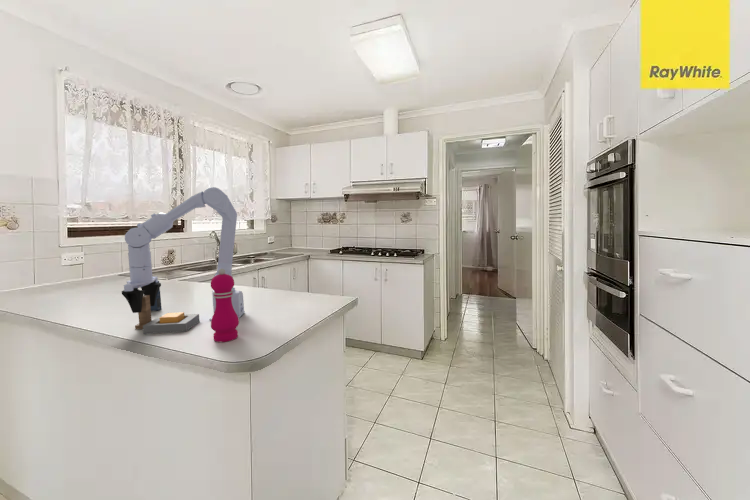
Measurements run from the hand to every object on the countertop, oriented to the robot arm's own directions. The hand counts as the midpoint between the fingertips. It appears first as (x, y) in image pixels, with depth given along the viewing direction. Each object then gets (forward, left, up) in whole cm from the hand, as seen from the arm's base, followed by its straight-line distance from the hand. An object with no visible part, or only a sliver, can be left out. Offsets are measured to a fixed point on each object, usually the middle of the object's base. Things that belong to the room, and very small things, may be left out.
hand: (144, 309), depth 103 cm
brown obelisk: (0, 0, -6) cm, 6 cm away
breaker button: (-9, +2, -4) cm, 10 cm away
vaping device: (+8, -21, -6) cm, 23 cm away
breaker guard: (-9, +2, -6) cm, 11 cm away
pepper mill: (-29, +15, -6) cm, 33 cm away
